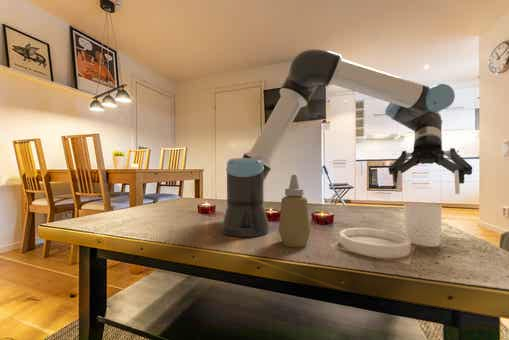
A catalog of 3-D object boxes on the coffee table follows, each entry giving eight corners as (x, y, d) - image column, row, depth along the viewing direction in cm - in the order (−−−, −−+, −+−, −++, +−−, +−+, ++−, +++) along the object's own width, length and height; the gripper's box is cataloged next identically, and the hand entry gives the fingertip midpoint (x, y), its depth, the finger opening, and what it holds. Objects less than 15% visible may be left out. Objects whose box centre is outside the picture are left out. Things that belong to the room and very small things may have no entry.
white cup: (450, 249, 53) (449, 207, 53) (413, 247, 54) (412, 207, 54) (430, 239, 60) (430, 203, 60) (398, 238, 62) (398, 202, 62)
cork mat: (329, 248, 54) (329, 246, 54) (348, 235, 64) (348, 234, 64) (409, 266, 43) (409, 264, 43) (415, 247, 54) (415, 246, 54)
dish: (330, 247, 53) (330, 237, 53) (350, 234, 65) (350, 225, 65) (406, 264, 43) (405, 251, 43) (413, 245, 55) (413, 234, 55)
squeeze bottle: (316, 244, 57) (315, 174, 57) (301, 253, 51) (300, 175, 51) (288, 238, 62) (288, 174, 63) (272, 245, 56) (272, 175, 56)
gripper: (478, 148, 70) (486, 201, 58) (387, 153, 86) (379, 195, 74) (480, 129, 66) (489, 181, 54) (384, 138, 82) (375, 180, 70)
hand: (425, 189), depth 64 cm, fingers open, 13 cm apart
